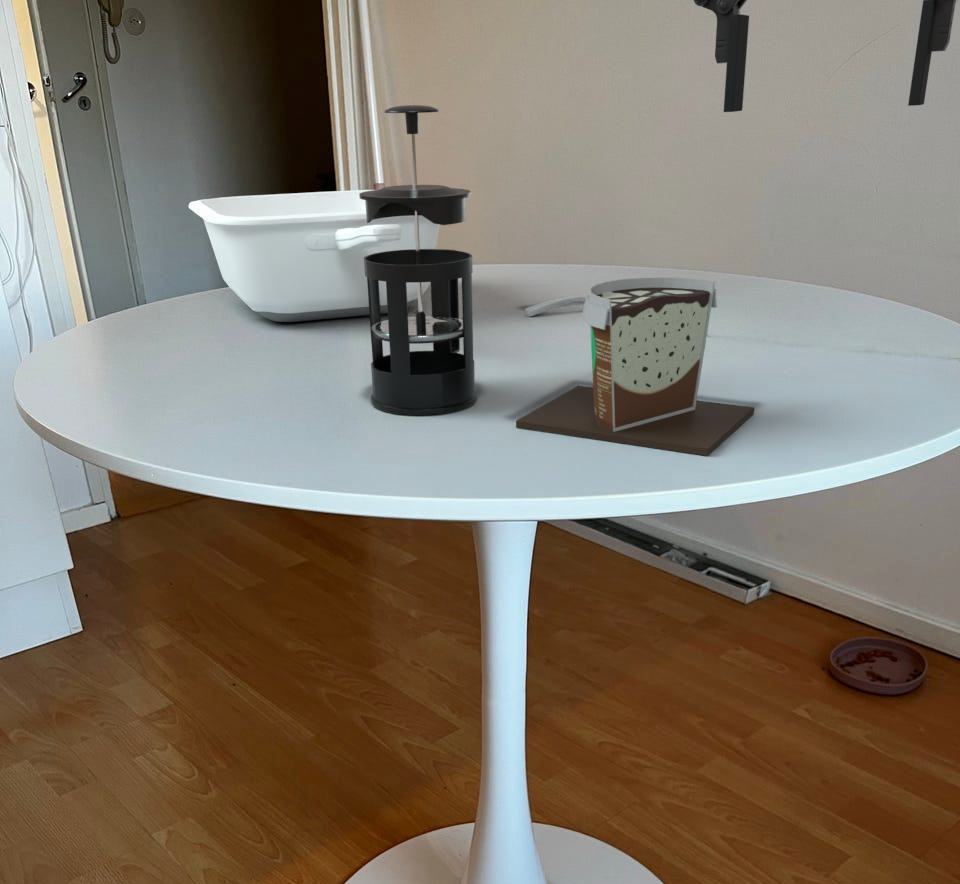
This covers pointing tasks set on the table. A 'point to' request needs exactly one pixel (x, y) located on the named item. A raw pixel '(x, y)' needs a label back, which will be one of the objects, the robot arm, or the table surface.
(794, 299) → the table surface
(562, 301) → the spoon
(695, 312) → the food container
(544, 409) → the mat
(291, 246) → the white dish tub
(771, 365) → the table surface
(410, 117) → the french press
